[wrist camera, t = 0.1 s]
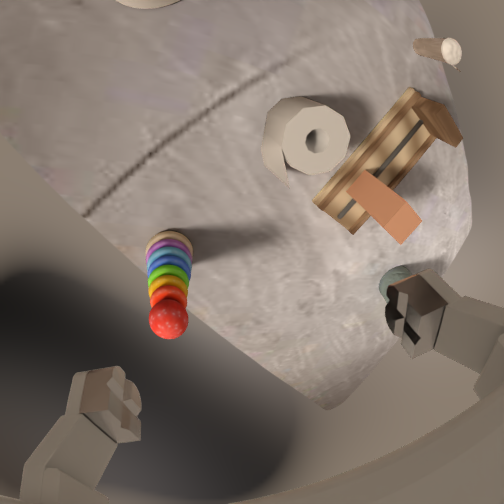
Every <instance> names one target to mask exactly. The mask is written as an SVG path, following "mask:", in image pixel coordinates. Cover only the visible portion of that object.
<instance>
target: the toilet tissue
mask: <svg viewBox="0 0 504 504" xmlns="http://www.w3.org/2000/svg"><path fill="white" fill-rule="evenodd" d="M349 140H350V133H349V130H348V128H347V125H346V122H345V119H344V117H343V116H342V115H340V114H339V113H337V112H335V111H334V110H332V109H331V108H329V107H327V106H326V105H323V104H321V103H318V102H315V101H313V100H310V99H307V98H305V97H302V96H298V97H290V98H283V99H281V100H280V101H279V102H278V103H277V104H276V105H275V106H274V107H273V108H271V109H270V110H269V111H268V112H267V118H266V123H265V129H264V134H263V140H262V146H261V152H262V157H263V161H264V165H265V167H267V168H268V169H269V170H270V171H271V172H272V173H273V174H274V175H275V176H276V177H277V178H278V179H280V180H281V181H282V182H283V183H284V184H285V185H286V186H287V187H288V188H289V183H288V177H287V172H286V167H285V162H284V160H285V161H286V162H287V163H288V164H289V165H290V166H291V167H293V168H295V169H297V170H299V171H301V172H303V173H305V174H307V175H314V174H319V173H324V172H330V171H331V170H332V169H333V168H334V167H335V166H336V165H337V164H338V163H339V162H340V161H341V160H342V159H343V158H344V157H345V156H346V152H347V148H348V144H349ZM289 189H290V188H289Z"/></svg>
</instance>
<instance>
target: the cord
mask: <svg viewBox="0 0 504 504" xmlns="http://www.w3.org/2000/svg"><path fill="white" fill-rule="evenodd" d="M422 124H423V121H422V120H419V121H418V122H417V123H416V125H415V126H414V127H413V128H412V129H411V131H410V132H409V133H408V134H407V136H406V137H405V138H404V139H403V140H402V141H401V143H400V144H399V145H398V146H397V147H396V149H395V150H394V151H393V152H392V153H391V155H390V156H389V157H388V158H387V159H386V160H385V162H384V163H383V164H382V165H381V166H380V167H379V169H378V170H377V171H376V172H375V173H374V174H373V176H374V177H376V178H378V177H379V176H380V174H381V173H382V172H383V171H384V170H385V169H386V167H387V166H388V165H389V164H390V163H391V161H392V160H393V159H394V158H395V157H396V156H397V154H398V153H399V152H400V151H401V150H402V148H403V147H404V146H405V145H406V144H407V142H408V141H409V140H410V139H411V138H412V136H413V135H414V134H415V133H416V132H417V130H418V129H419V128H420V127H421V125H422ZM355 203H356V201H355V200H354V199H352V200H351V201H350V202H349V203H348V204H347V205H346V206H345V208H344V209H343V210H342V211H341V212H340V213H339V214H338V216H337V218H338V219H342V218H343V217H344V215H345V214H346V213H347V212H348V211H349V210H350V209H351V208H352V206H353V205H354V204H355Z"/></svg>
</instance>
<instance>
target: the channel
mask: <svg viewBox="0 0 504 504" xmlns="http://www.w3.org/2000/svg"><path fill="white" fill-rule="evenodd" d="M419 120H422V121H423V124H422V125H421V127H420V128H419V129H418V130H417V132H416V133H415V134H414V135H413V136H412V138H411V139H410V140H409V141H408V142H407V144H406V145H405V146H404V147H403V148H402V150H401V151H400V152H399V153H398V154H397V156H396V157H395V158H394V159H393V160H392V161H391V163H390V164H389V165H388V166H387V167H386V169H385V170H384V171H383V172H382V173H381V174H380V176H379V177H378V178H377V179H378V180H380V181H381V182H382V183H383V184H385V185H386V186H387V187H389V188H390V189H391V190H394V188H395V187H396V186H397V185H398V184H399V183H400V181H401V180H402V179H403V178H404V177H405V176H406V174H407V173H408V172H409V171H410V170H411V168H412V167H413V166H414V165H415V164H416V162H417V161H418V160H419V159H420V158H421V156H422V155H423V154H424V153H425V152H426V150H427V149H428V148H429V147H430V145H431V144H432V143H433V142H434V140H435V139H436V138H438V139H440V140H442V141H444V142H446V143H448V144H450V145H452V146H454V147H457V145H458V144H459V143H460V142H461V140H462V139H463V137H462V135H461V133H460V131H459V130H458V128H457V126H456V124H455V122H454V121H453V119H452V117H451V115H450V114H449V112H448V110H447V108H446V107H445V105H443V104H441V103H438V102H435V101H432V100H429V99H426V98H423V97H421V94H420V93H419V92H416V91H415V90H414V89H413V88H410V87H409V88H408V89H407V90H406V91H405V93H404V94H403V95H402V96H401V97H400V99H399V100H398V101H397V102H396V103H395V104H394V106H393V107H392V108H391V109H390V110H389V112H388V113H387V114H386V115H385V116H384V117H383V119H382V120H381V121H380V122H379V123H378V124H377V126H376V127H375V128H374V129H373V130H372V131H371V133H370V134H369V135H368V136H367V137H366V139H365V140H364V141H363V142H362V143H361V144H360V146H359V147H358V148H357V149H356V150H355V151H354V153H353V154H352V155H351V156H350V157H349V158H348V159H347V161H346V162H345V163H344V164H343V165H342V166H341V168H340V169H339V170H338V171H337V172H336V173H335V175H334V176H333V177H332V178H331V179H330V180H329V182H328V183H327V184H326V185H325V186H324V187H323V188H322V190H321V191H320V192H319V193H318V194H317V195H316V197H315V198H314V199H313V200H312V201H313V203H314V204H315V205H317V206H318V207H319V208H320V209H321V210H322V211H325V212H326V213H327V214H328V215H330V216H331V217H332V218H334V219H335V220H336V221H337V222H339V223H340V224H341V225H342V226H344V227H345V228H346V229H347V230H349V232H350V233H351V234H353V235H354V234H355V232H356V231H357V230H358V229H359V228H360V227H361V226H362V225H363V224H364V222H365V221H366V220H367V219H368V218H369V217H370V216H371V215H370V214H369V213H368V212H367V211H366V210H365V209H364V208H363V207H362V206H361V205H360V204H359V203H357V202H356V203H355V204H354V205H353V206H352V208H351V209H350V210H349V211H348V212H347V213H346V214H345V215H344V217H343V218H342V219H338V218H337V216H338V214H339V213H340V212H341V211H342V210H343V209H344V208H345V206H346V205H347V204H348V203H349V202H350V201H351V200H352V199H353V198H352V197H351V196H350V195H349V194H348V193H347V192H346V191H347V190H348V188H349V187H350V186H351V185H352V184H353V183H354V182H355V180H356V179H357V178H358V177H359V176H360V175H361V173H362V172H363V171H364V170H366V171H367V172H369V173H370V174H371V175H373V174H374V173H375V172H376V171H377V170H378V169H379V167H380V166H381V165H382V164H383V163H384V162H385V160H386V159H387V158H388V157H389V156H390V155H391V153H392V152H393V151H394V150H395V149H396V147H397V146H398V145H399V144H400V143H401V141H402V140H403V139H404V138H405V137H406V136H407V134H408V133H409V132H410V131H411V129H412V128H413V127H414V126H415V125H416V123H417V122H418V121H419Z"/></svg>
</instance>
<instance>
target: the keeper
mask: <svg viewBox="0 0 504 504" xmlns="http://www.w3.org/2000/svg"><path fill="white" fill-rule="evenodd" d="M346 192H347V193H348V194H349V195H350V196H351V197H352V198H353V199H354V200H355V201H356V202H357V203H359V204H360V205H361V206H362V207H363V208H364V209H365V210H366V211H367V212H368V213H369V214H370V215H371V216H372V217H373V218H374V219H375V220H376V221H377V222H378V223H379V224H380V225H381V226H382V227H383V228H384V229H385V230H386V231H387V232H388V233H389V234H390V235H391V236H392V237H393V238H394V239H395V240H396V241H397V242H398V243H399V244H400V245H401V244H402V243H403V242H404V241H405V240H406V239H407V237H408V236H409V235H410V234H411V233H412V232H413V231H414V230H415V229H416V227H417V226H418V225H419V224H420V223H421V222H422V220H421V219H420V217H419V216H418V215H417V214H416V213H415V211H414V210H413V209H412V208H411V206H410V205H409V204H408V203H407V202H406V201H405V200H404V199H403V198H401V197H400V196H399V195H398V194H396V193H395V192H394V191H393V190H391V189H390V188H389V187H387V186H386V185H385V184H383V183H382V182H381V181H380V180H378V179H377V178H376V177H374V176H373V175H371V174H370V173H369V172H367V171H366V170H364V171H363V172H362V173H361V175H360V176H359V177H358V178H357V179H356V180H355V182H354V183H353V184H352V185H351V186H350V187H349V188H348V190H347V191H346Z"/></svg>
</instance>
